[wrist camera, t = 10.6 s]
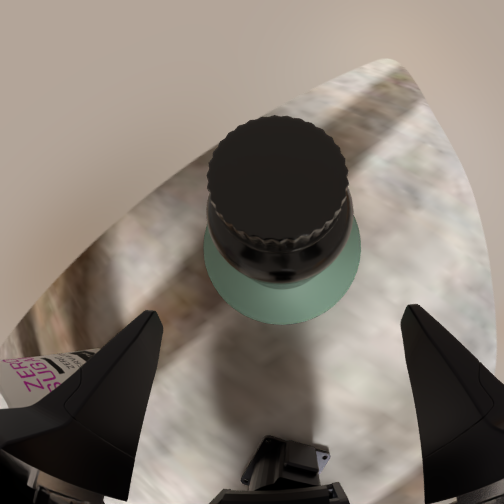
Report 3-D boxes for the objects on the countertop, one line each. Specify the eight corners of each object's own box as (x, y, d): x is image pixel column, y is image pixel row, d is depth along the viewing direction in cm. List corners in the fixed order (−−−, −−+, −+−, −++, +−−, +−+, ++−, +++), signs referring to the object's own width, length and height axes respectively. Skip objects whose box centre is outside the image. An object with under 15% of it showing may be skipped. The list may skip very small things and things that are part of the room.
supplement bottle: (218, 255, 21) (138, 196, 9) (271, 185, 21) (253, 72, 10) (293, 310, 19) (303, 320, 8) (345, 234, 20) (407, 152, 8)
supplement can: (94, 418, 22) (-5, 458, 8) (76, 349, 24) (-36, 358, 9) (152, 422, 22) (51, 492, 7) (132, 344, 23) (3, 364, 9)
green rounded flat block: (323, 342, 21) (329, 347, 18) (193, 290, 24) (180, 288, 21) (367, 211, 23) (376, 199, 20) (244, 170, 25) (238, 154, 22)
